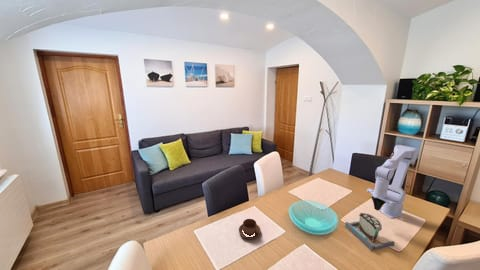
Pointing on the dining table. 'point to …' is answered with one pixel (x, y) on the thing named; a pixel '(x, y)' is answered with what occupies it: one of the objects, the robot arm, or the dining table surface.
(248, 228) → the cup and saucer
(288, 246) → the dining table surface
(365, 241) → the grey piece
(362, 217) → the food container
